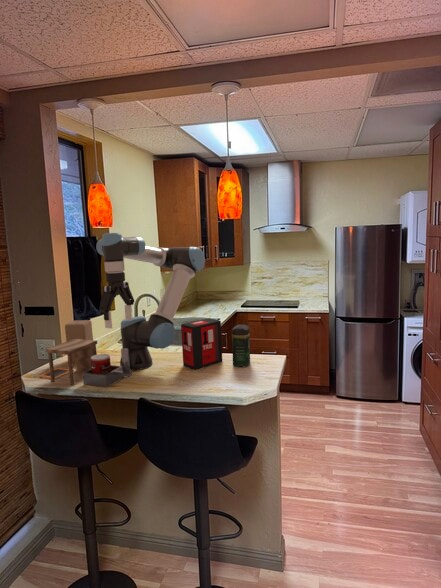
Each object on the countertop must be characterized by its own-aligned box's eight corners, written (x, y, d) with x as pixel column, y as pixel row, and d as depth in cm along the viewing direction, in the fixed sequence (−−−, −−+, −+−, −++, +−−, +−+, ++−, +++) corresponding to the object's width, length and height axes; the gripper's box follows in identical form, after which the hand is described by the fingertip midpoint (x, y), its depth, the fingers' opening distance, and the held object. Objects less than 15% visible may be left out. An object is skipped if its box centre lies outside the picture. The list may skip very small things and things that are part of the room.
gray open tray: (83, 384, 167) (79, 349, 165) (102, 374, 178) (99, 342, 176) (122, 389, 159) (119, 353, 157) (139, 379, 170) (137, 345, 168)
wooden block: (95, 357, 205) (92, 319, 202) (87, 363, 195) (83, 324, 192) (76, 357, 206) (73, 320, 203) (67, 364, 196) (63, 324, 193)
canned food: (96, 378, 175) (94, 354, 173) (114, 377, 174) (112, 353, 173) (90, 384, 167) (87, 359, 165) (108, 384, 167) (106, 358, 165)
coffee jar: (248, 368, 179) (247, 328, 176) (231, 367, 181) (229, 328, 178) (251, 361, 188) (250, 323, 185) (235, 361, 190) (233, 323, 187)
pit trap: (74, 371, 185) (73, 369, 185) (55, 379, 175) (55, 378, 175) (57, 369, 189) (57, 367, 188) (38, 377, 179) (38, 375, 179)
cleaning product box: (210, 357, 197) (208, 318, 194) (222, 361, 190) (220, 320, 187) (183, 366, 186) (181, 324, 183) (195, 370, 179) (192, 327, 176)
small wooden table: (49, 382, 172) (45, 348, 169) (77, 369, 187) (74, 338, 185) (72, 386, 166) (69, 351, 164) (99, 372, 182) (97, 340, 180)
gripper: (125, 269, 171) (129, 317, 175) (86, 275, 148) (91, 331, 152) (140, 268, 169) (143, 317, 172) (102, 275, 146) (107, 332, 149)
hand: (119, 324), depth 162 cm, fingers open, 13 cm apart
